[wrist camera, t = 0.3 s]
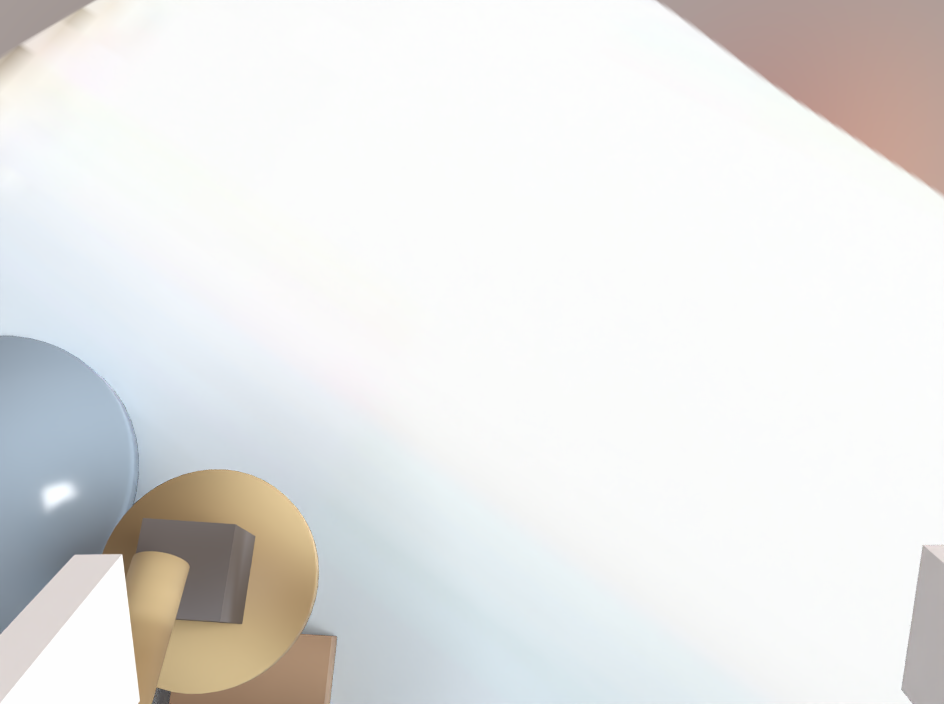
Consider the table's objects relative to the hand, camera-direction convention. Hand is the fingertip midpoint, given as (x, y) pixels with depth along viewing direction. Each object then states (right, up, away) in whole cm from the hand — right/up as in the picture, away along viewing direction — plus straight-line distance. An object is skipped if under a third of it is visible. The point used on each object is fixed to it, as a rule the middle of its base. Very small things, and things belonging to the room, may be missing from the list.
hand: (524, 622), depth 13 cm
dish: (-19, 0, +17) cm, 25 cm away
